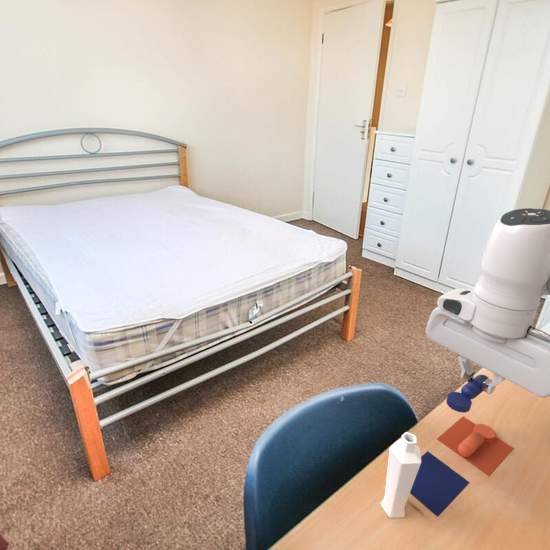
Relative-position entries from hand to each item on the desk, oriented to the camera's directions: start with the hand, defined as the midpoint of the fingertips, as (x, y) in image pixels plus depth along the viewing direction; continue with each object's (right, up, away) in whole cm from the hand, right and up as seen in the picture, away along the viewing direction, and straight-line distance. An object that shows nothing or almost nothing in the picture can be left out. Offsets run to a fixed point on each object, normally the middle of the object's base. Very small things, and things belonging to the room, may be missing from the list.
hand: (476, 384), depth 65 cm
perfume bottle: (-15, -19, -4) cm, 24 cm away
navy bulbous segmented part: (-2, -2, -1) cm, 3 cm away
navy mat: (-7, -17, 0) cm, 19 cm away
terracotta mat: (+4, -14, +8) cm, 17 cm away
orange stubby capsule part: (+4, -13, +8) cm, 16 cm away
